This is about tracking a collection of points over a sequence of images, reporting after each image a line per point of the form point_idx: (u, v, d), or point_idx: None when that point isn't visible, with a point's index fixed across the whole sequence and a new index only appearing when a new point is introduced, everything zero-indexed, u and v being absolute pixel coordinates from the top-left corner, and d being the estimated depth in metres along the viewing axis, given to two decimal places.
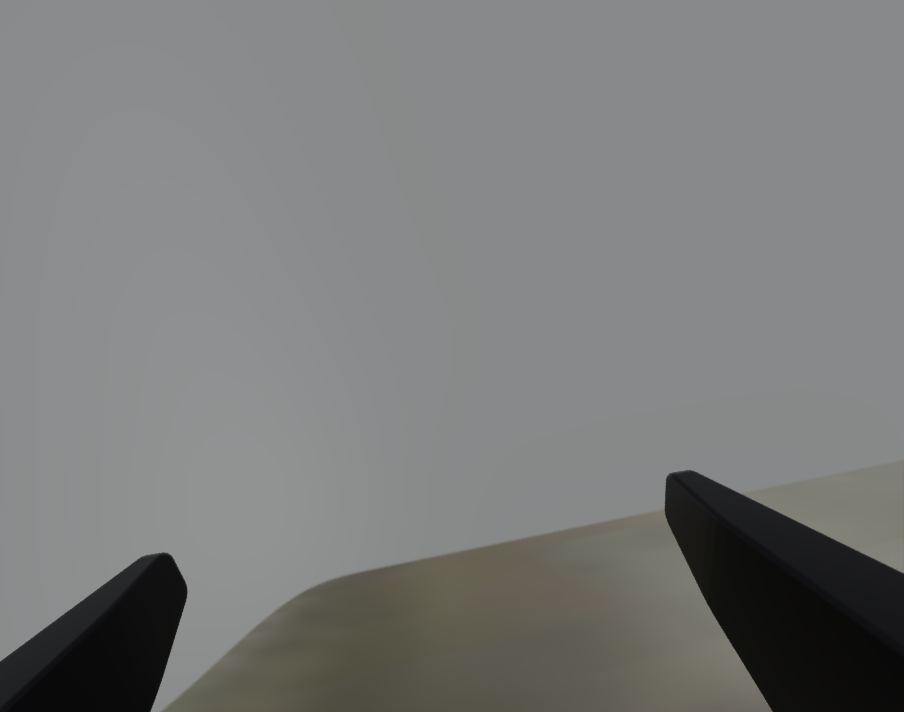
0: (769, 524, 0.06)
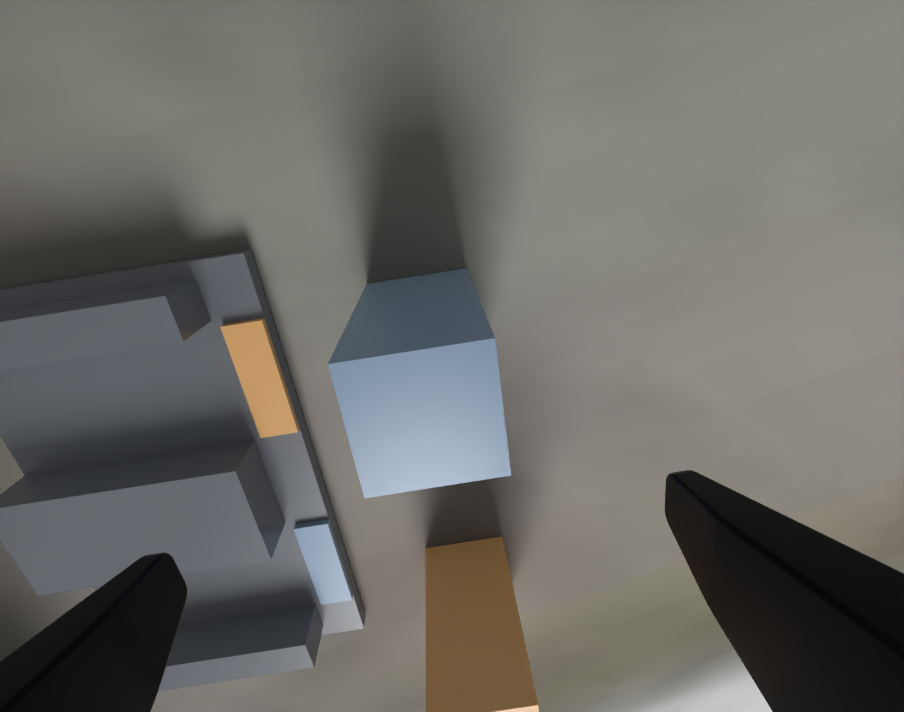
0: (769, 524, 0.06)
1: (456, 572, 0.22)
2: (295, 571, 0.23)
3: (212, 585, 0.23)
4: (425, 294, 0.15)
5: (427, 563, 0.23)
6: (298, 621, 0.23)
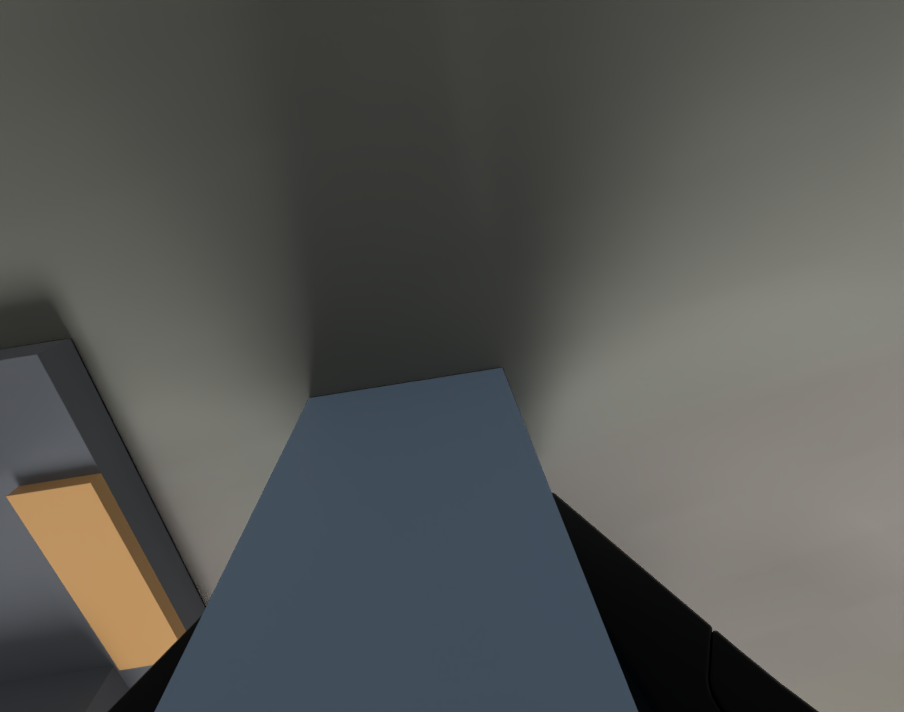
0: (592, 552, 0.06)
1: None
2: None
3: None
4: (422, 471, 0.07)
5: None
6: None
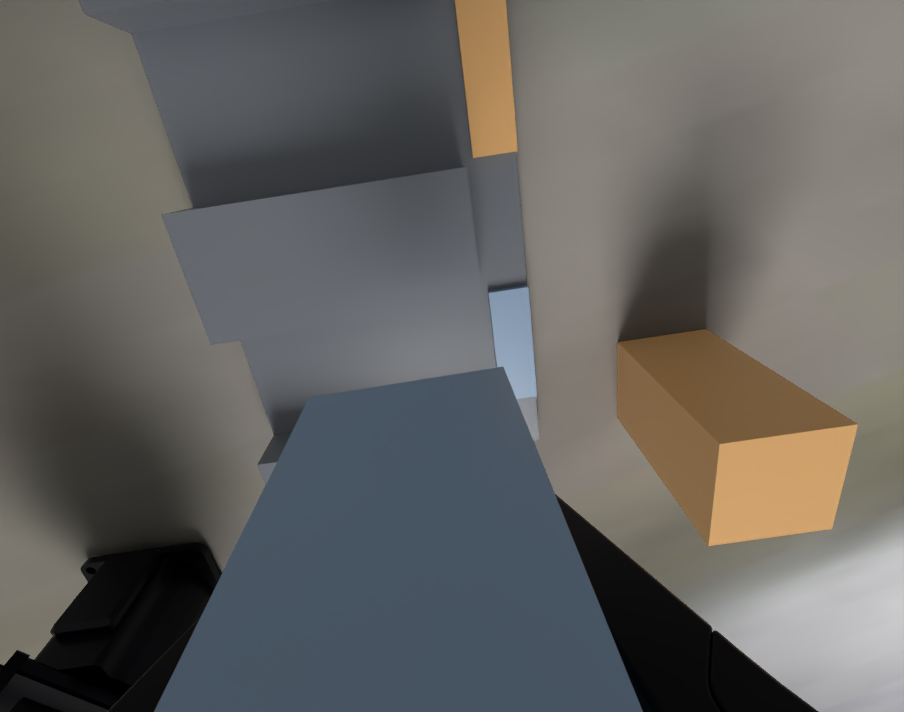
0: (592, 552, 0.06)
1: (669, 352, 0.19)
2: (477, 358, 0.20)
3: (381, 373, 0.20)
4: (423, 470, 0.07)
5: (628, 350, 0.20)
6: None
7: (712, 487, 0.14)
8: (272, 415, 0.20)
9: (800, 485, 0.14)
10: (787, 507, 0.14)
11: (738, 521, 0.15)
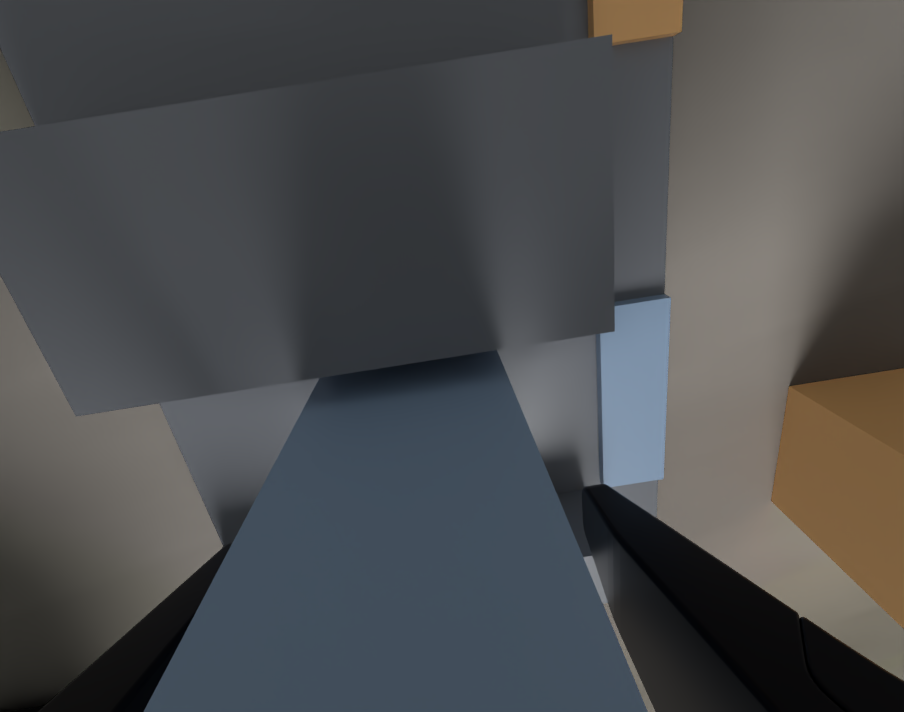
0: (660, 541, 0.06)
1: None
2: (567, 418, 0.12)
3: None
4: (423, 416, 0.08)
5: (821, 402, 0.12)
6: (571, 515, 0.12)
7: None
8: (219, 515, 0.12)
9: None
10: None
11: None
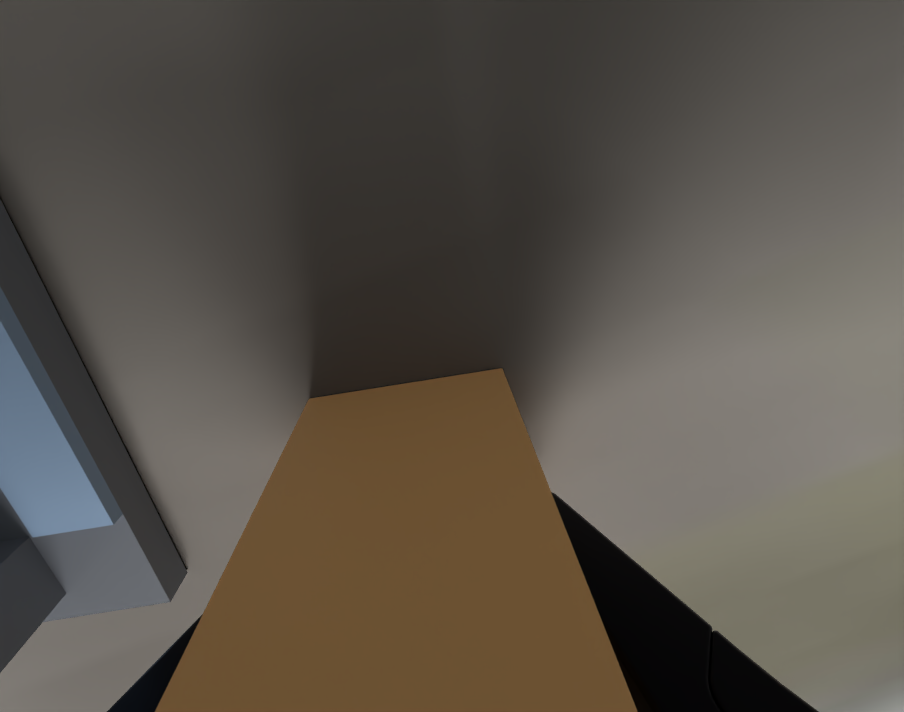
0: (593, 552, 0.06)
1: (372, 434, 0.08)
2: None
3: None
4: None
5: (301, 423, 0.08)
6: None
7: None
8: None
9: None
10: None
11: None
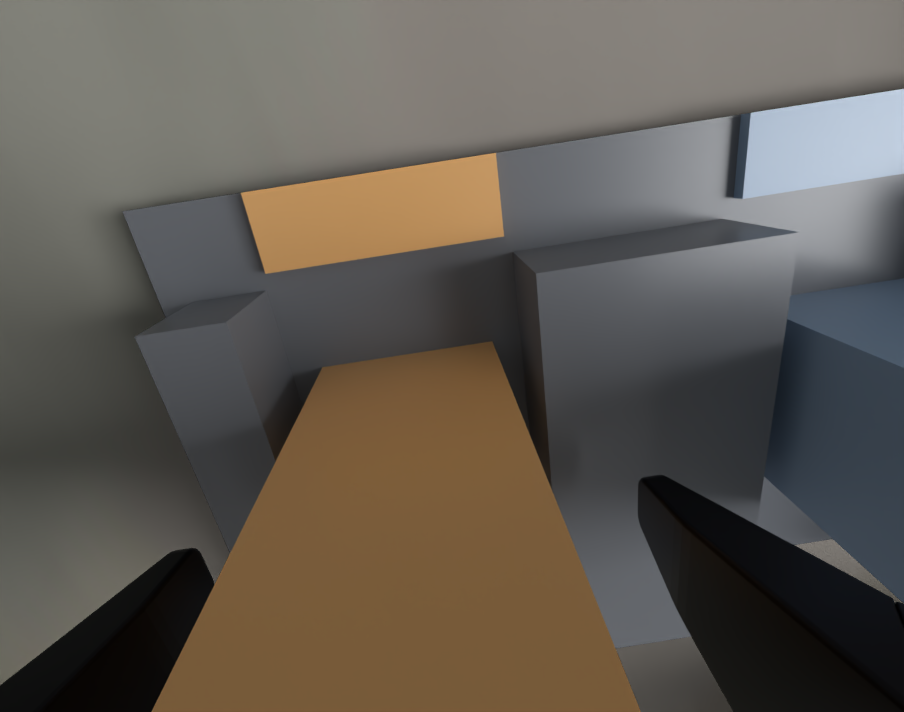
0: (733, 530, 0.06)
1: (379, 392, 0.09)
2: (859, 214, 0.10)
3: None
4: (843, 431, 0.09)
5: (317, 385, 0.10)
6: None
7: None
8: None
9: None
10: None
11: None
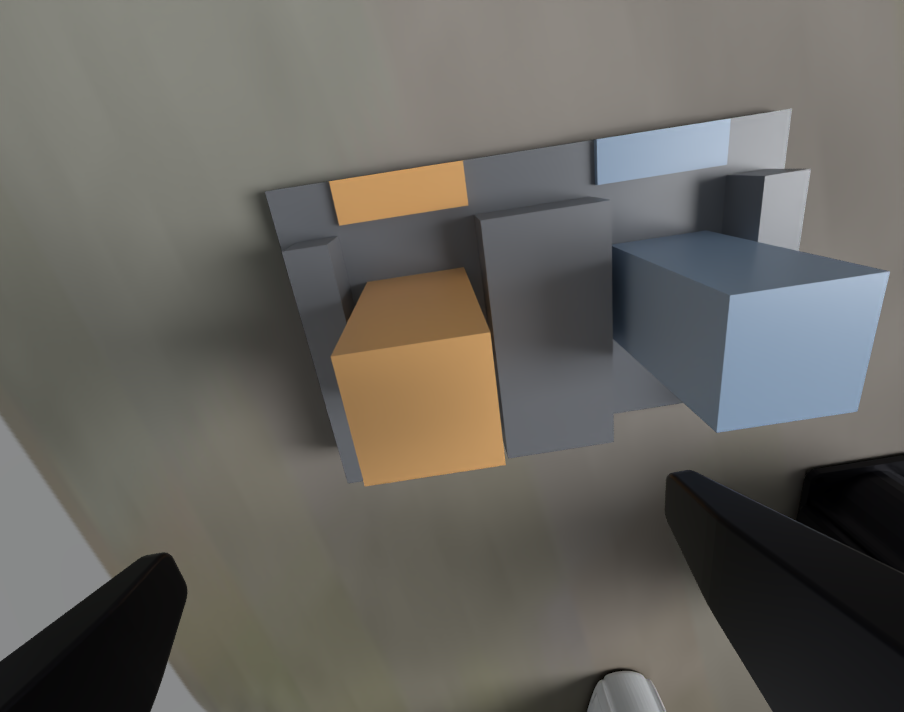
0: (769, 524, 0.06)
1: (401, 286, 0.17)
2: (667, 194, 0.18)
3: None
4: (641, 304, 0.17)
5: (366, 287, 0.18)
6: (739, 193, 0.17)
7: (347, 412, 0.12)
8: None
9: (448, 410, 0.12)
10: (442, 437, 0.12)
11: (390, 455, 0.13)
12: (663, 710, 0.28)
